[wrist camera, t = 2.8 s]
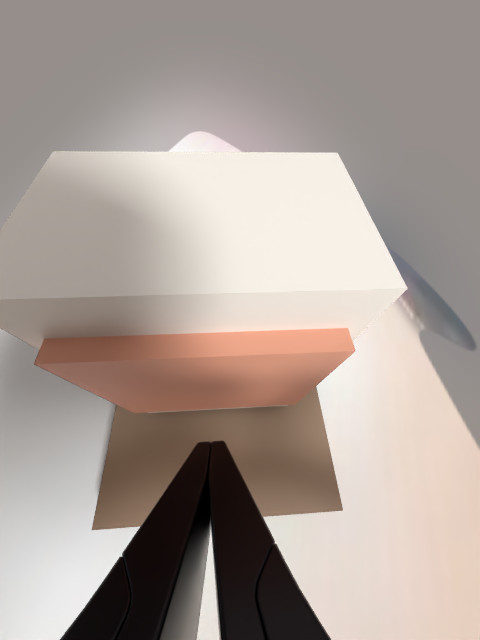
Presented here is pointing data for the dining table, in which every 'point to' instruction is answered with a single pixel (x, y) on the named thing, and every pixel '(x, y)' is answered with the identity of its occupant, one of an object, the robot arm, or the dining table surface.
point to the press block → (193, 275)
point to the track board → (244, 445)
